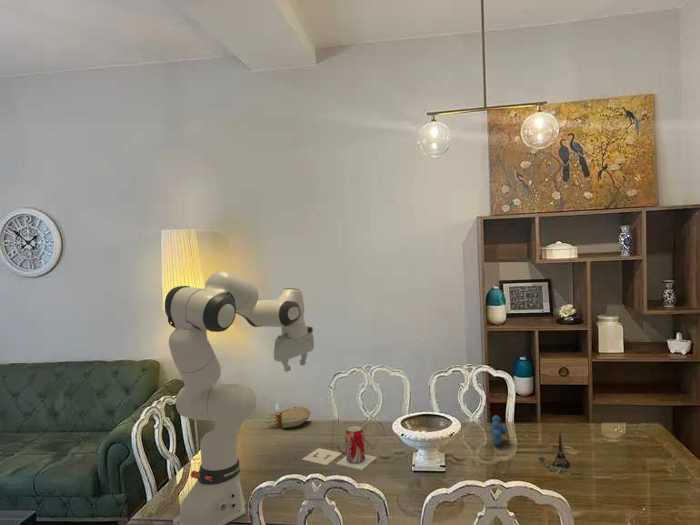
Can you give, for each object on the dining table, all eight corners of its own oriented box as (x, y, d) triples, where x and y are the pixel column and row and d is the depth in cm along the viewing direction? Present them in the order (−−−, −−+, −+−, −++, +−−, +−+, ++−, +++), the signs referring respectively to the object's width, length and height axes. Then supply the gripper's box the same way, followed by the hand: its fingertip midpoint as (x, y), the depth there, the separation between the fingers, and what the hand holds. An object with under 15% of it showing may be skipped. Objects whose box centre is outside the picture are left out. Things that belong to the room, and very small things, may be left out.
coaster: (362, 470, 179) (362, 469, 179) (336, 464, 185) (336, 463, 185) (376, 458, 189) (376, 457, 189) (351, 453, 194) (351, 451, 194)
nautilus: (263, 435, 218) (265, 424, 233) (313, 427, 221) (311, 417, 236) (261, 417, 218) (262, 407, 233) (310, 409, 221) (309, 400, 236)
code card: (326, 465, 185) (326, 464, 185) (301, 459, 191) (301, 459, 190) (342, 453, 194) (342, 453, 194) (318, 448, 200) (318, 448, 200)
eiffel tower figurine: (536, 458, 184) (535, 422, 183) (563, 456, 184) (562, 420, 184) (554, 478, 169) (553, 438, 168) (584, 475, 169) (583, 436, 169)
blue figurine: (509, 452, 189) (508, 420, 188) (490, 451, 191) (489, 419, 190) (508, 440, 200) (507, 410, 199) (490, 438, 202) (489, 409, 201)
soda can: (363, 464, 183) (362, 431, 182) (344, 463, 184) (343, 431, 183) (366, 456, 190) (365, 424, 189) (348, 455, 191) (346, 424, 190)
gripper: (282, 337, 178) (284, 376, 178) (315, 326, 195) (317, 362, 196) (268, 336, 181) (270, 374, 181) (302, 326, 198) (304, 361, 199)
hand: (295, 368), depth 189 cm, fingers open, 8 cm apart
